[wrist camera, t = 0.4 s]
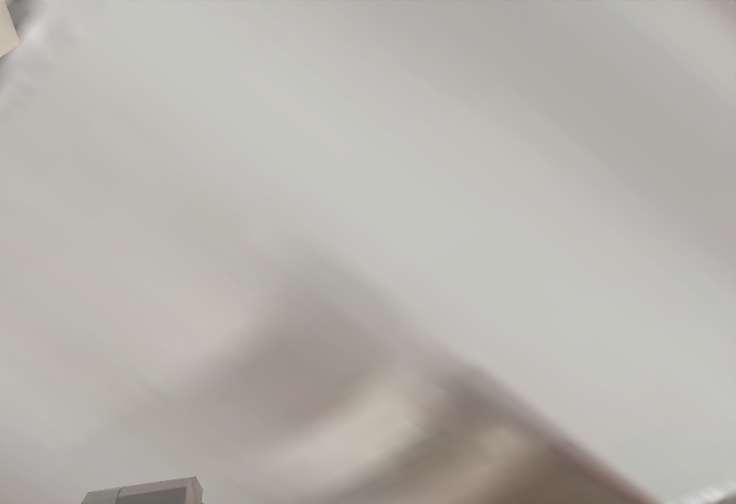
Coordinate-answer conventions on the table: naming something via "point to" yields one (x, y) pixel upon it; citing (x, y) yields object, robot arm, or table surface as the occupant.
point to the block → (6, 30)
